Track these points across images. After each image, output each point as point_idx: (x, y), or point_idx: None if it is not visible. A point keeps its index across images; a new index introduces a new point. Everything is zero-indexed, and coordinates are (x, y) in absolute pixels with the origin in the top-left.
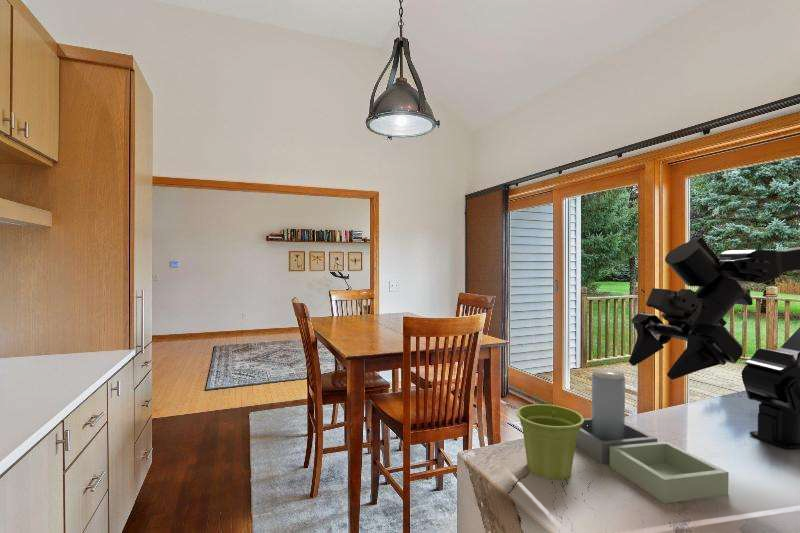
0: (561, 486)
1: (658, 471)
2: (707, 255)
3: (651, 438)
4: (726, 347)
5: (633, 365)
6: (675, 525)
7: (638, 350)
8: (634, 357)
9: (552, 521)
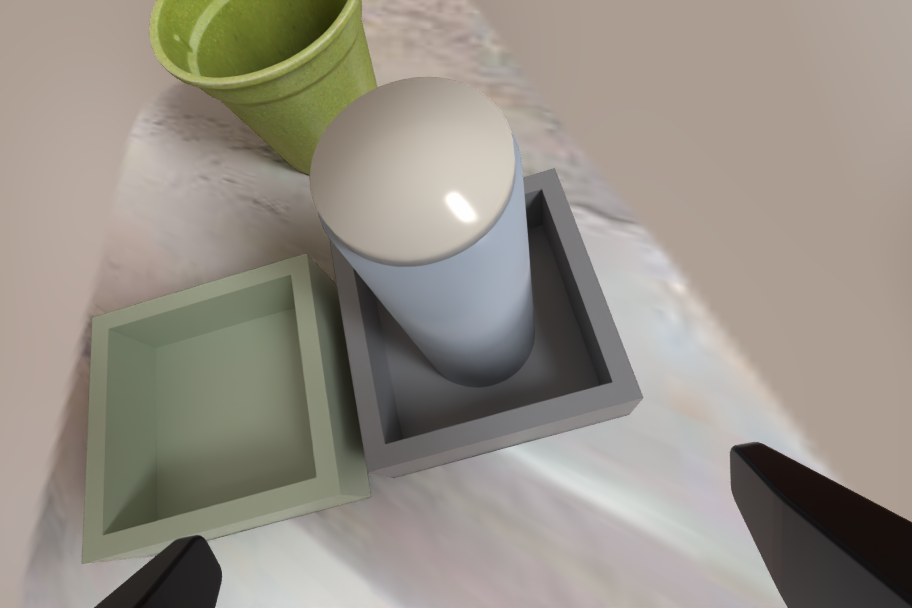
0: (264, 146)
1: (289, 417)
2: None
3: (369, 445)
4: None
5: (733, 492)
6: (87, 327)
7: (868, 590)
8: (772, 503)
9: (150, 107)
